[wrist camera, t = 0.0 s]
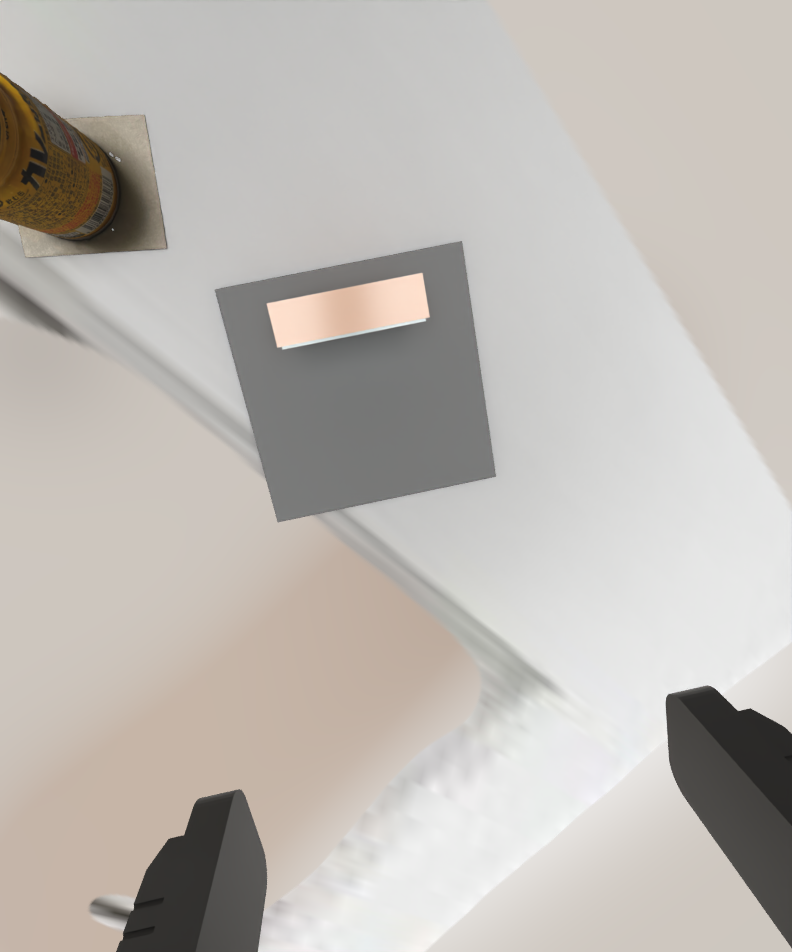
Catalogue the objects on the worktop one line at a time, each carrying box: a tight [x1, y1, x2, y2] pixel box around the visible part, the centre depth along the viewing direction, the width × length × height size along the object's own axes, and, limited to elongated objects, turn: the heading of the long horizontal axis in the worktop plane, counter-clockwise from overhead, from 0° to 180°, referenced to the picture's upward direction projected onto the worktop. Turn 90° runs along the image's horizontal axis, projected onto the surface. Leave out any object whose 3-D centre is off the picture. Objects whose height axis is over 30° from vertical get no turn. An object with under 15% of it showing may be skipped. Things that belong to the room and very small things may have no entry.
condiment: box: [0, 73, 166, 257], centre depth 27 cm, size 7×8×12 cm
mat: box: [215, 241, 496, 522], centre depth 37 cm, size 16×16×1 cm
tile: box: [267, 273, 430, 350], centre depth 31 cm, size 2×8×8 cm, turn 101°
